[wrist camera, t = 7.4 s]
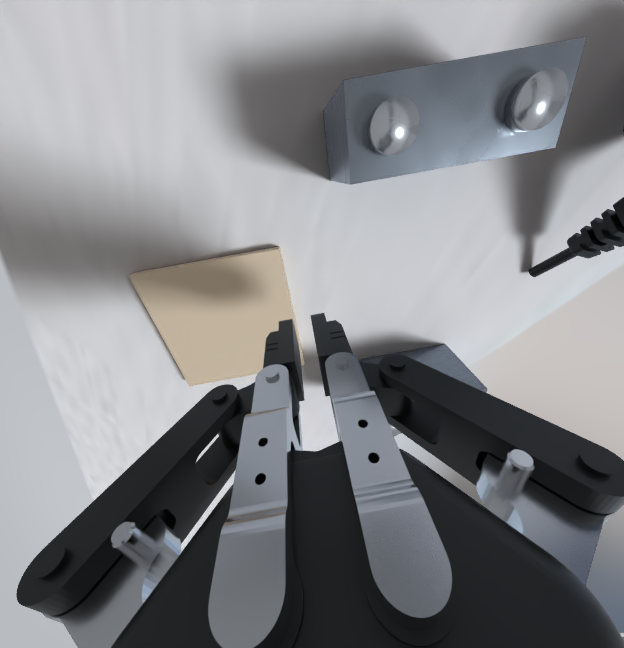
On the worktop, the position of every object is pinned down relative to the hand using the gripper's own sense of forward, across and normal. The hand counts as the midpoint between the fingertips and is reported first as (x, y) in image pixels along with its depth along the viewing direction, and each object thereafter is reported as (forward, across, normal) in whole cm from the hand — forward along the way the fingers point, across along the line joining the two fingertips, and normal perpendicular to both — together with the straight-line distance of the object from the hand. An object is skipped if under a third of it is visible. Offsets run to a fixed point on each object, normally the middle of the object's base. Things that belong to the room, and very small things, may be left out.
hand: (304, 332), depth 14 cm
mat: (+5, +5, +1) cm, 7 cm away
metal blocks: (+5, -7, 0) cm, 8 cm away
